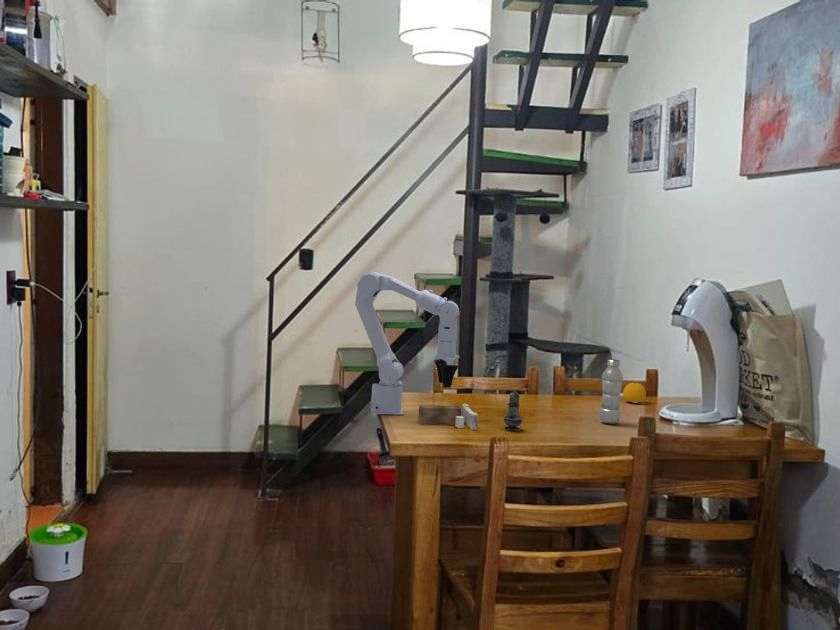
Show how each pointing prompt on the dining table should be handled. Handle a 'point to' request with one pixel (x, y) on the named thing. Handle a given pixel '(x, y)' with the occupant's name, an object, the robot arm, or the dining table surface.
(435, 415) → the block
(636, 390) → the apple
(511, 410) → the dark grey tall piece
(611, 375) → the plastic bottle
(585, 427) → the dining table surface
